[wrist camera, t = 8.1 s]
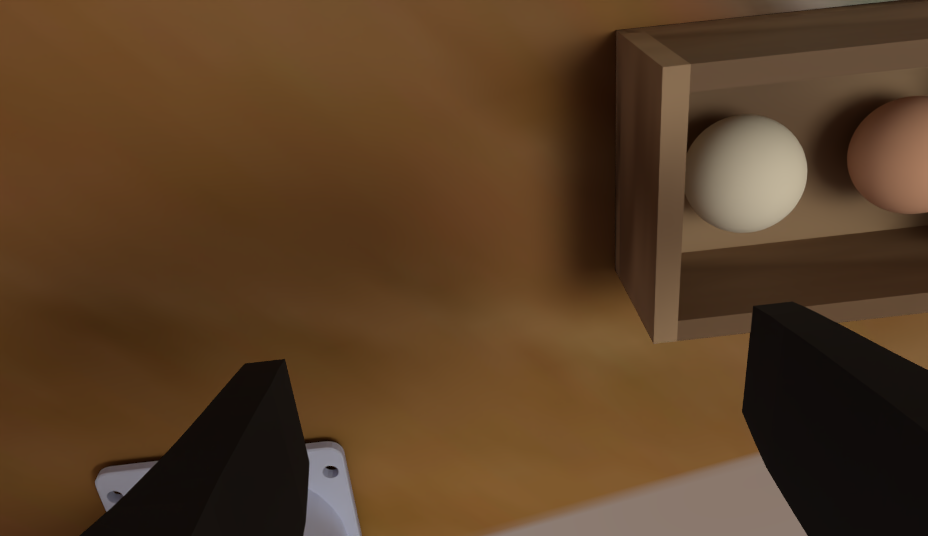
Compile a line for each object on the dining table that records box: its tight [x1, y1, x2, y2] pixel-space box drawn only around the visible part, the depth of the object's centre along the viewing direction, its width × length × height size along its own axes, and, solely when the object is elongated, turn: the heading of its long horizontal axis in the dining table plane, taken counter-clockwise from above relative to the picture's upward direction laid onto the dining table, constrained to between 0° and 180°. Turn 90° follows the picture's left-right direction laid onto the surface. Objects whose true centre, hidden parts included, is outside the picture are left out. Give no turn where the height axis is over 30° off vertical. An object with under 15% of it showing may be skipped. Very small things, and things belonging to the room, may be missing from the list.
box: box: [615, 0, 928, 344], centre depth 20 cm, size 7×10×4 cm
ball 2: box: [847, 96, 928, 214], centre depth 20 cm, size 3×3×3 cm
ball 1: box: [685, 114, 807, 233], centre depth 20 cm, size 3×3×3 cm
